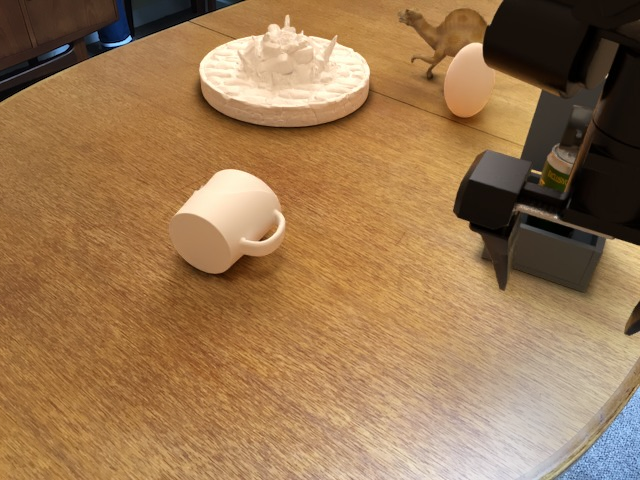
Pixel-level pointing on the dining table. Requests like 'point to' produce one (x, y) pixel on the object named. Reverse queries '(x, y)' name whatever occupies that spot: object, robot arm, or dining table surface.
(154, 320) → the dining table surface
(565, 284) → the grey open square box
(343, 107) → the cake
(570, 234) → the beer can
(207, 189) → the mug
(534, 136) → the lid
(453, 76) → the egg
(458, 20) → the dinosaur figurine
